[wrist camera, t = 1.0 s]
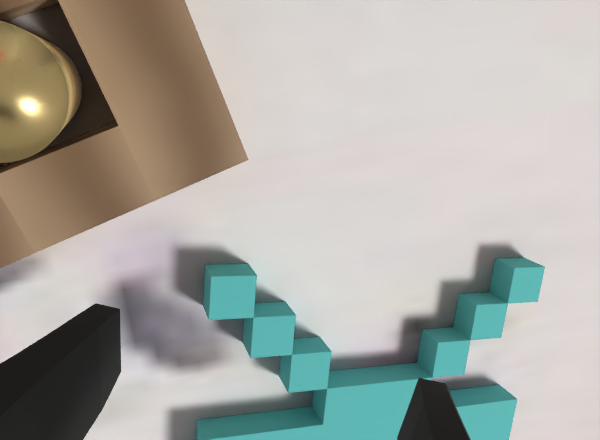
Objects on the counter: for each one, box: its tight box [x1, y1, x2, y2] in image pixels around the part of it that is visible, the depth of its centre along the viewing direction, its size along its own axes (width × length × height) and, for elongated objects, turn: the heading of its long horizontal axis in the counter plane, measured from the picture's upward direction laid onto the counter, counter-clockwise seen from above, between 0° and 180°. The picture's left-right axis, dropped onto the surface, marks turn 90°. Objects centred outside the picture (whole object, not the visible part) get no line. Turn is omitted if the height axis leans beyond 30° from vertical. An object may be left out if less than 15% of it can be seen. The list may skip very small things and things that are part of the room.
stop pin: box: [0, 21, 82, 163], centre depth 19 cm, size 4×4×8 cm
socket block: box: [0, 0, 248, 268], centre depth 21 cm, size 14×12×2 cm
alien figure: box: [196, 258, 545, 440], centre depth 32 cm, size 20×2×20 cm
